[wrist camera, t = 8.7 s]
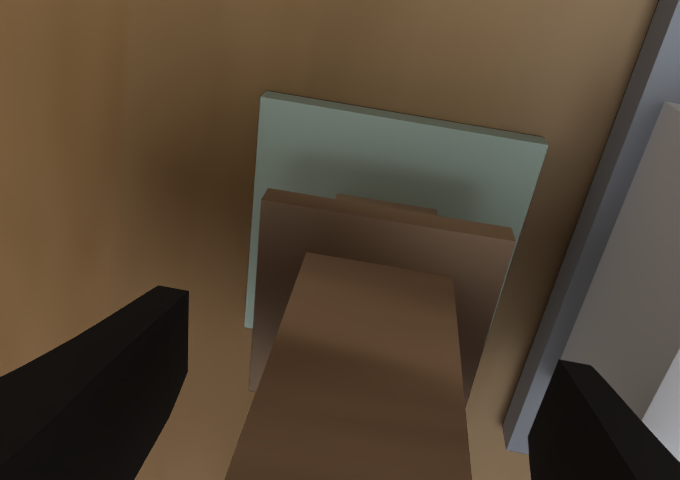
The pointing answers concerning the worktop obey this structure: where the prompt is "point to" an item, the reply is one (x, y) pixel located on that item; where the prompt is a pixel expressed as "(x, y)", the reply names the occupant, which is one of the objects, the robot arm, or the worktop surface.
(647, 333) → the breaker housing
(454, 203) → the mat
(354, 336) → the brown block
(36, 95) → the worktop surface
